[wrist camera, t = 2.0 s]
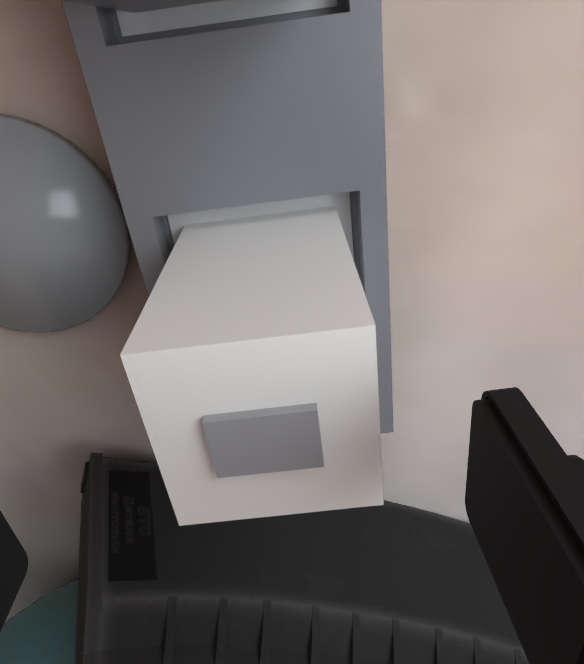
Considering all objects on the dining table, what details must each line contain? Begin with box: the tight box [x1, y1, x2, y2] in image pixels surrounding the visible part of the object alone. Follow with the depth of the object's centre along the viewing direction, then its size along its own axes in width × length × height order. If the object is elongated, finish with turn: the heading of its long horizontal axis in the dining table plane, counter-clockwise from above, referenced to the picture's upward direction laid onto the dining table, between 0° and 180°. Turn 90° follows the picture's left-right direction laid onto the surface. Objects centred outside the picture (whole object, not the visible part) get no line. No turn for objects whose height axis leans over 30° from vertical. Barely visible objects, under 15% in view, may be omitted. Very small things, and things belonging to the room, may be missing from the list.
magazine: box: [75, 453, 529, 664], centre depth 23 cm, size 17×3×30 cm
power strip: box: [61, 0, 393, 433], centre depth 16 cm, size 28×8×4 cm, turn 7°
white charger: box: [120, 206, 384, 526], centre depth 14 cm, size 5×5×8 cm
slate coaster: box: [0, 114, 130, 332], centre depth 19 cm, size 8×8×1 cm
